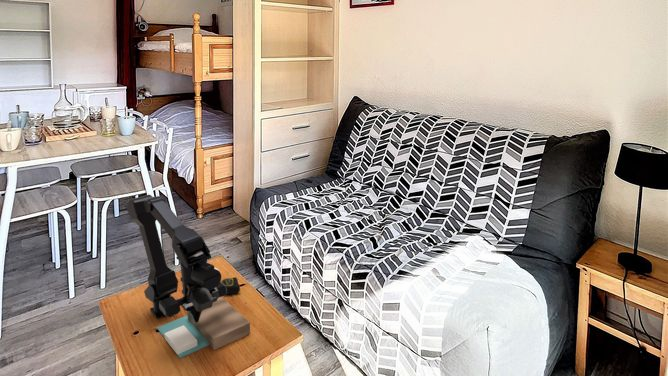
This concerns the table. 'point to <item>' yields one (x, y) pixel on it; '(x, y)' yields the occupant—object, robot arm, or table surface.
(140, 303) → the table surface
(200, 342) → the mat
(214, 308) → the brown flat block
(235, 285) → the tape measure
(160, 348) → the table surface
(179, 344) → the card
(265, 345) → the table surface
